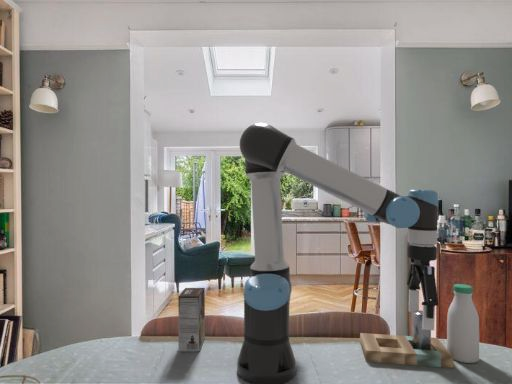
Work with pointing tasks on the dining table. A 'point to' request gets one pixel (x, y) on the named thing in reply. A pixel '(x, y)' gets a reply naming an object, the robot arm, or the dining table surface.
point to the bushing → (420, 333)
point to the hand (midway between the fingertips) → (420, 320)
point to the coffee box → (191, 319)
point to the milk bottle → (463, 326)
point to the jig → (403, 351)
